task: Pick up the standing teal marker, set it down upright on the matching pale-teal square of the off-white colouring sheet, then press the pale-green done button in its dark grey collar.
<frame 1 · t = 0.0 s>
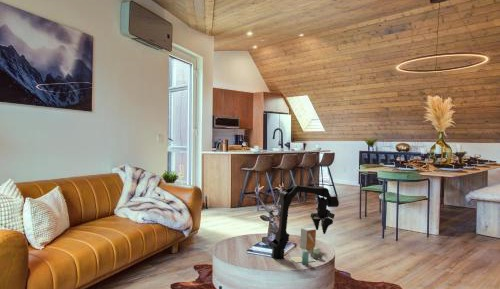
hand: (320, 231, 226), 15 cm above the table, fingers open, 9 cm apart
done button: (316, 251, 221), point 4 cm above the table, slide at 0.0 cm
colouring sheet: (302, 259, 216), on the table
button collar: (316, 257, 221), on the table
teal marker: (305, 263, 209), on the table
small box: (307, 248, 239), on the table
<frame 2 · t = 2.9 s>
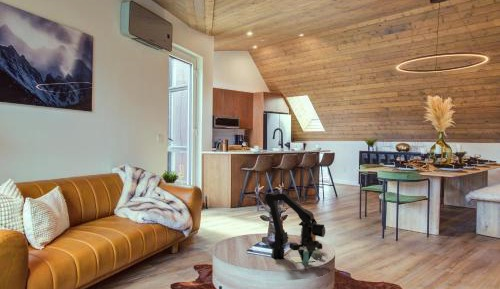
hand: (305, 260, 209), 2 cm above the table, fingers closed on teal marker, 4 cm apart
teal marker: (305, 263, 209), on the table, touching gripper
everything else where it was.
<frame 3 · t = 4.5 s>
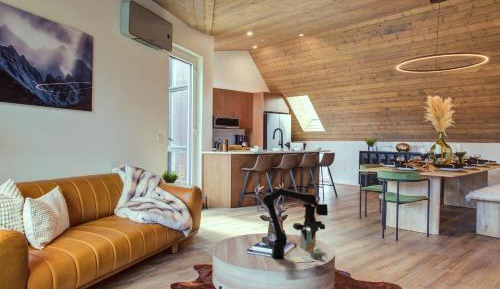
hand: (308, 240, 216), 12 cm above the table, fingers closed on teal marker, 4 cm apart
teal marker: (308, 243, 216), point 10 cm above the table, touching gripper
everything else where it was.
when the fingers open (3 cm above the table, at t = 6.2 s): teal marker stays where it is, resting on colouring sheet.
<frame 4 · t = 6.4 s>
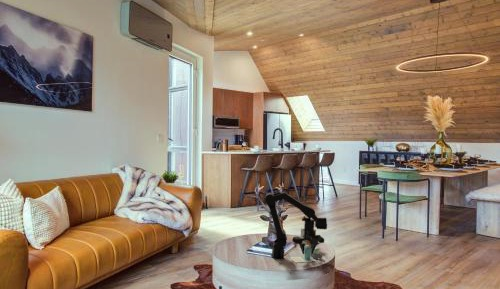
hand: (307, 253, 217), 3 cm above the table, fingers open, 5 cm apart
teal marker: (307, 258, 217), point 1 cm above the table, touching colouring sheet
everything else where it was.
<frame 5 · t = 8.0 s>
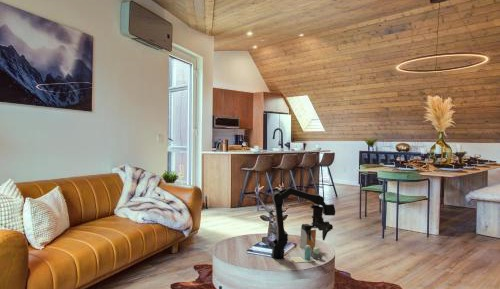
hand: (316, 240, 220), 11 cm above the table, fingers open, 9 cm apart
nothing on the table moved.
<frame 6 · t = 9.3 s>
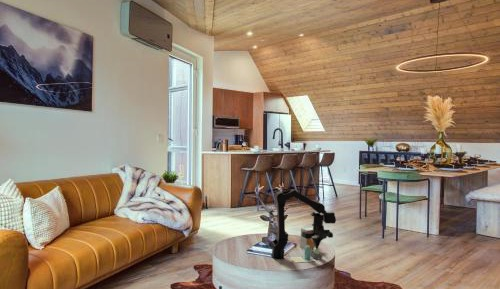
hand: (316, 248, 221), 6 cm above the table, fingers closed, pressing on done button
done button: (316, 251, 221), point 3 cm above the table, slide at 0.2 cm, touching gripper
everything else where it was.
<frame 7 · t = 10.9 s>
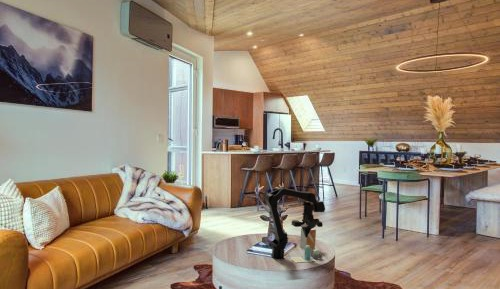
hand: (306, 237, 223), 12 cm above the table, fingers closed
done button: (316, 253, 221), point 2 cm above the table, slide at 1.1 cm
everything else where it was.
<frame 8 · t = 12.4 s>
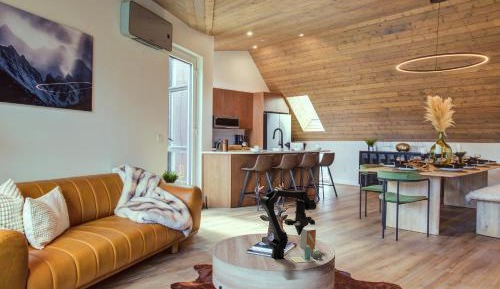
hand: (299, 235, 225), 12 cm above the table, fingers closed
nothing on the table moved.
at the end: teal marker 0.1 cm from the target spot on the colouring sheet, point 0.5 cm above the colouring sheet's base; teal marker tilted 2°; done button slide at 1.1 cm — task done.
